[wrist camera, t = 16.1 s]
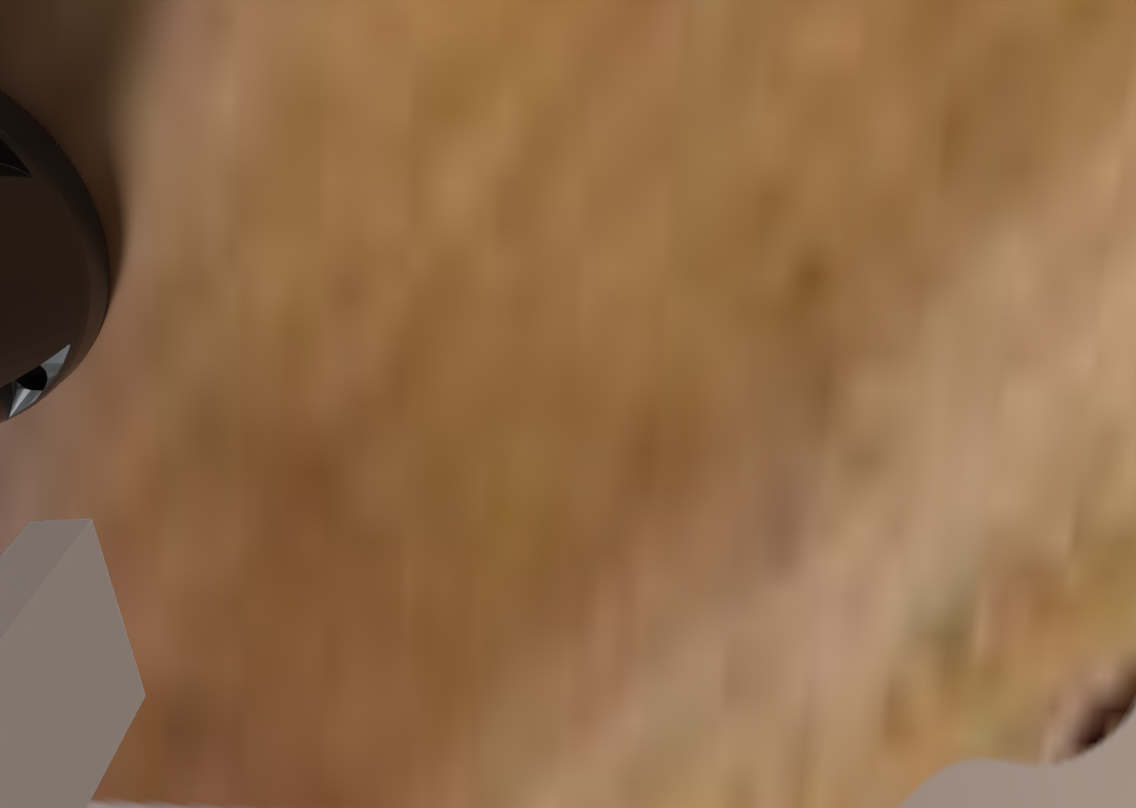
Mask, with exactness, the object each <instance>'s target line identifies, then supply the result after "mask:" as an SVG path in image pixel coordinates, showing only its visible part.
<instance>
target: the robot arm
mask: <svg viewBox="0 0 1136 808" xmlns="http://www.w3.org/2000/svg"><path fill="white" fill-rule="evenodd" d="M108 289H109V266H108V255H107V249H106V243H105V239H104V235H103V231H102V227H101V224H100V221H99V218H98V215H97V212H96V210H95V207H94V204H93V202H92V200H91V198H90V196H89V193H88V191H87V189H86V187H85V185H84V184H83V182H82V180H81V178H80V176H79V175H78V173H77V171H76V170H75V168H74V167H73V165H72V164H71V162H70V161H69V159H68V158H67V157H66V155H65V154H64V152H63V151H62V150H61V148H60V147H59V146H58V145H57V143H56V142H55V141H54V140H53V139H52V137H51V136H50V135H49V134H48V133H47V132H46V131H45V130H44V129H43V128H42V127H41V126H40V124H39V123H37V122H36V121H35V120H34V119H33V118H32V117H31V116H30V115H29V114H28V113H27V112H26V111H25V110H23V109H22V108H21V107H20V106H19V105H17V104H16V103H15V102H14V101H12V100H11V99H10V98H8V97H7V96H6V95H4V94H3V93H2V92H0V423H1V422H4V421H6V420H8V419H11V418H13V417H14V416H16V415H18V414H20V413H22V412H24V411H26V410H27V409H29V408H31V407H32V406H34V405H35V404H36V403H38V402H39V401H40V400H42V399H43V398H44V397H45V396H47V395H48V394H49V393H50V392H51V391H52V390H53V389H54V388H56V387H57V386H58V385H59V384H60V383H61V382H62V381H63V380H64V379H66V378H67V377H68V376H69V375H70V374H71V373H72V372H73V371H74V370H75V369H76V368H77V366H78V365H79V364H80V363H81V362H82V360H83V359H84V358H85V356H86V355H87V353H88V352H89V350H90V348H91V347H92V345H93V343H94V341H95V339H96V337H97V335H98V332H99V330H100V327H101V324H102V321H103V318H104V314H105V310H106V305H107V299H108ZM145 696H146V695H145V692H144V688H143V685H142V682H141V678H140V675H139V672H138V669H137V665H136V662H135V659H134V655H133V652H132V649H131V646H130V642H129V639H128V636H127V632H126V629H125V626H124V623H123V619H122V616H121V613H120V609H119V606H118V603H117V600H116V596H115V593H114V590H113V586H112V583H111V580H110V577H109V573H108V570H107V567H106V563H105V560H104V557H103V554H102V550H101V547H100V544H99V540H98V537H97V534H96V531H95V527H94V524H93V521H92V518H84V519H65V520H47V521H30V522H29V523H28V524H27V525H26V527H25V528H24V529H23V530H22V531H21V532H20V534H19V535H18V536H17V537H16V538H15V539H14V541H13V542H12V543H11V544H10V545H9V547H8V548H7V549H6V550H5V551H4V552H3V554H2V555H1V556H0V808H87V806H88V804H89V802H90V800H91V798H92V796H93V794H94V793H95V791H96V789H97V787H98V785H99V783H100V781H101V779H102V777H103V775H104V774H105V772H106V770H107V768H108V766H109V764H110V762H111V760H112V758H113V757H114V755H115V753H116V751H117V749H118V747H119V745H120V743H121V741H122V739H123V738H124V736H125V734H126V732H127V730H128V728H129V726H130V724H131V722H132V720H133V719H134V717H135V715H136V713H137V711H138V709H139V707H140V705H141V703H142V702H143V700H144V698H145Z"/></svg>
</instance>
